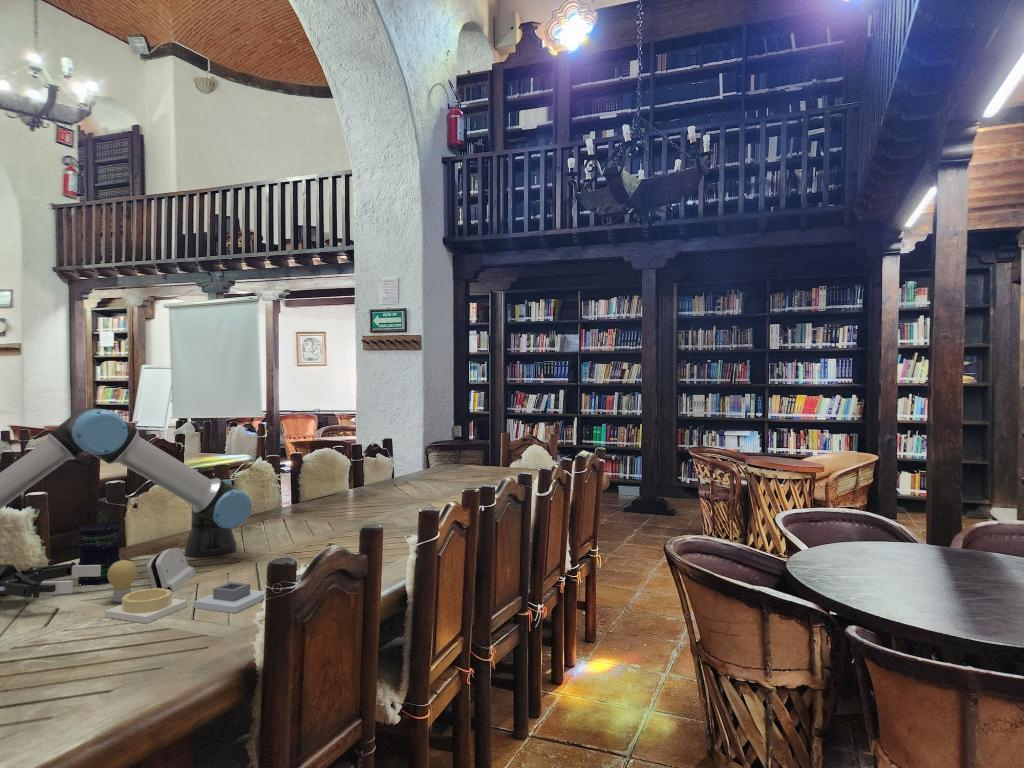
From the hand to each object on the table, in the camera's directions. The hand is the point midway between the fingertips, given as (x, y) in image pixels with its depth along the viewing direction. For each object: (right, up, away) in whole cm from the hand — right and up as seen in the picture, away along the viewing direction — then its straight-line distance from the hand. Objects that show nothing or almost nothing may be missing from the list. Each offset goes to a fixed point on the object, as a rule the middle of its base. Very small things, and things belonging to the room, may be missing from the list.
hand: (86, 578), depth 159 cm
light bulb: (+8, -6, +1) cm, 10 cm away
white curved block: (+12, -7, +17) cm, 22 cm away
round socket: (+18, -6, -6) cm, 20 cm away
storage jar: (-8, -6, +18) cm, 20 cm away
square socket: (+35, -6, +2) cm, 36 cm away
